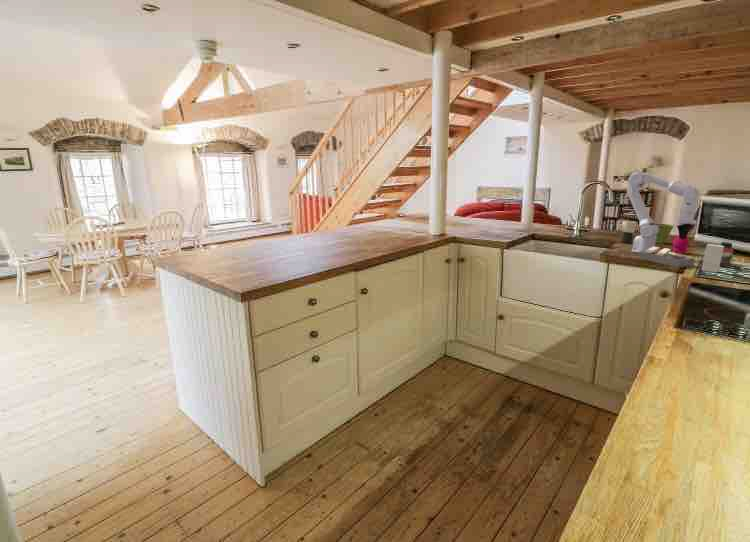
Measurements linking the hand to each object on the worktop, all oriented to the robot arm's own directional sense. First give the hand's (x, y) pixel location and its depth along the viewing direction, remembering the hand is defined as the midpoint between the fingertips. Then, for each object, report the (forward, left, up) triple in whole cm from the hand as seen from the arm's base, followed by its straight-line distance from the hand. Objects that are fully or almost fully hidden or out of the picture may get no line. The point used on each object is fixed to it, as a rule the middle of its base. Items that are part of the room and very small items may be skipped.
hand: (682, 238), depth 209 cm
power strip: (+2, -14, -10) cm, 18 cm away
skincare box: (+21, -12, -11) cm, 26 cm away
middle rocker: (+2, -16, -5) cm, 17 cm away
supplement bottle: (+17, +6, -11) cm, 21 cm away
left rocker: (-4, -16, -5) cm, 18 cm away
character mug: (-38, +15, -11) cm, 43 cm away
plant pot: (-31, +36, -11) cm, 49 cm away
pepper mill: (-9, +18, -11) cm, 23 cm away
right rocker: (+7, -16, -5) cm, 19 cm away
